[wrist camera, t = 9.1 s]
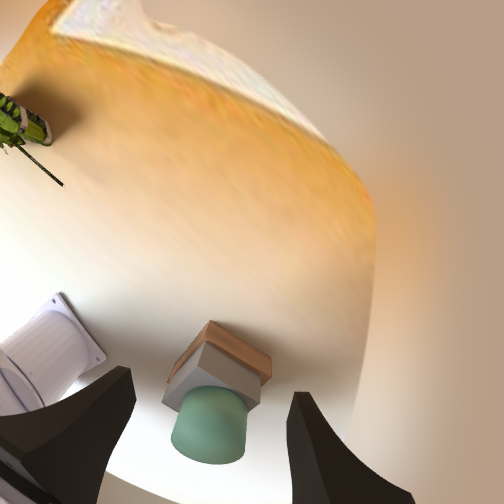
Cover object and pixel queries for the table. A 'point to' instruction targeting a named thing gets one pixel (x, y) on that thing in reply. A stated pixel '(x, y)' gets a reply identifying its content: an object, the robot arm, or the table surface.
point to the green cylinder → (211, 425)
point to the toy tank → (22, 128)
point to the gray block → (213, 377)
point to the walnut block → (228, 351)
